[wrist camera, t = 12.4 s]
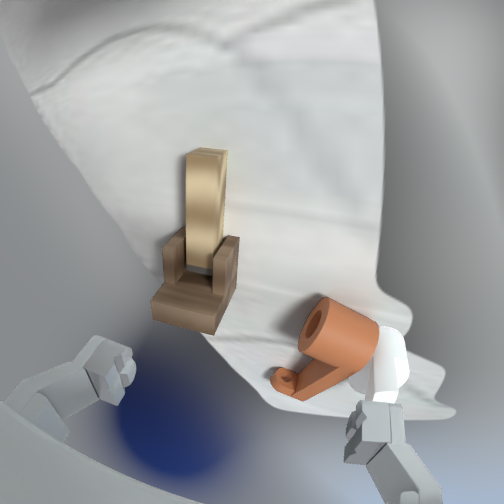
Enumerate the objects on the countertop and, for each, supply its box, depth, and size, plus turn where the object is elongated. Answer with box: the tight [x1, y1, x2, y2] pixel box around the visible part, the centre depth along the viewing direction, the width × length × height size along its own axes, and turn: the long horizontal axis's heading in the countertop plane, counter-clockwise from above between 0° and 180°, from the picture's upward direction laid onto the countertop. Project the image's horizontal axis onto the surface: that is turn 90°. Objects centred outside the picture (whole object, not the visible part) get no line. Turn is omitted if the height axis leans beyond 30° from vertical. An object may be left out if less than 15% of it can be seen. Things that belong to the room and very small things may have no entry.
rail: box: [186, 148, 228, 276], centre depth 38 cm, size 15×4×4 cm, turn 175°
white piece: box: [348, 326, 410, 403], centre depth 40 cm, size 9×9×12 cm
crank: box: [270, 297, 379, 401], centre depth 44 cm, size 20×8×8 cm, turn 156°
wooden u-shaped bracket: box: [150, 227, 240, 335], centre depth 39 cm, size 8×8×10 cm
